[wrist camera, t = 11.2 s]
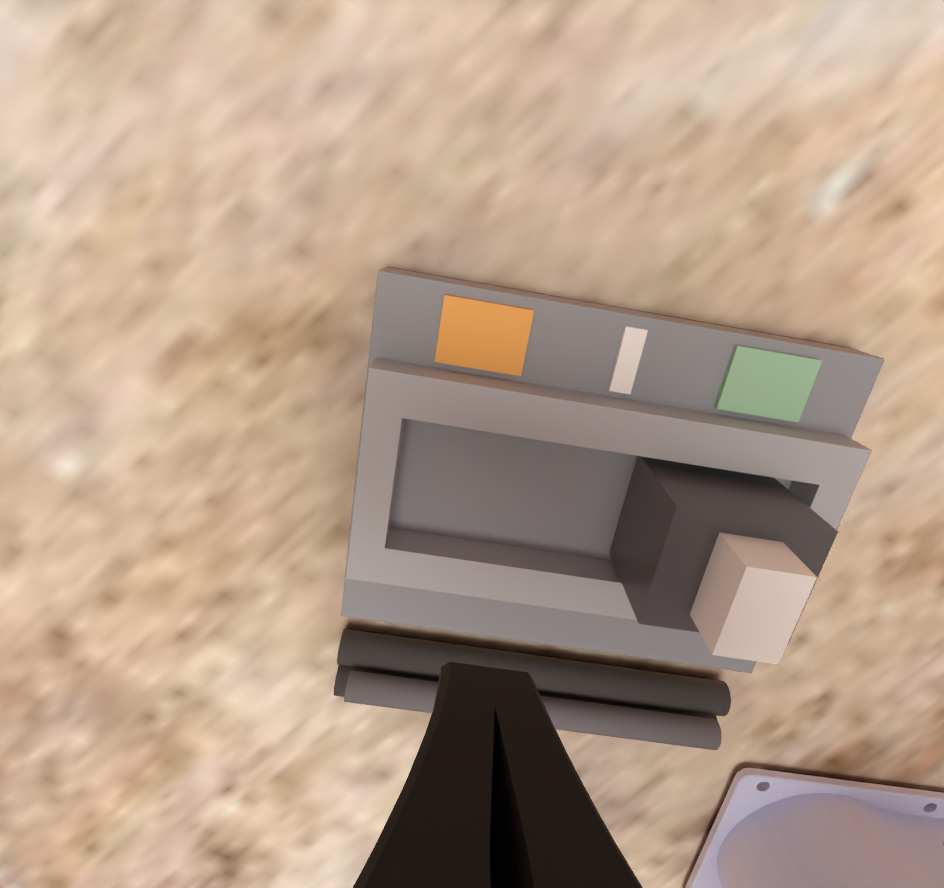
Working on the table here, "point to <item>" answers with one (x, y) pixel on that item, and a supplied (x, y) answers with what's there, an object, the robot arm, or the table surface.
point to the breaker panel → (566, 453)
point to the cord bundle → (540, 688)
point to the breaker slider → (718, 555)
